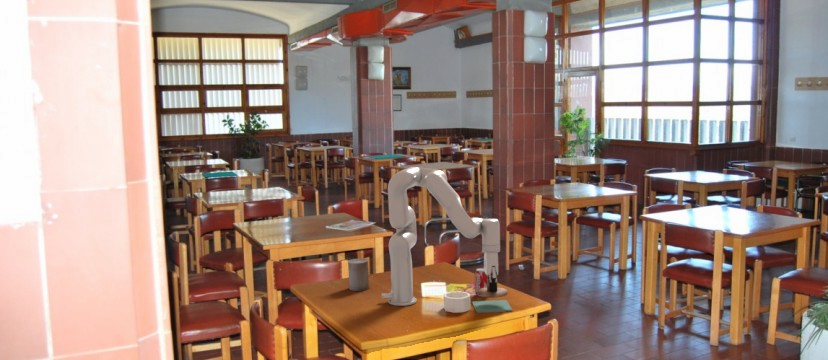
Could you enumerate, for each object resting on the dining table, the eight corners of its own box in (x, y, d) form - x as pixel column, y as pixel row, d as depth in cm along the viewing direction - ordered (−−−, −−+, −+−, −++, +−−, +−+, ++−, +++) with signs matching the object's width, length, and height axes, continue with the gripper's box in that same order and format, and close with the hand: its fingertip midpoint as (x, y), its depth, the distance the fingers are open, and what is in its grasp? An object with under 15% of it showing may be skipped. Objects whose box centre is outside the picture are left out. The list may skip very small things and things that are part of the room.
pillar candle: (371, 286, 336) (370, 255, 334) (366, 291, 326) (365, 260, 325) (352, 285, 338) (350, 255, 336) (346, 291, 328) (345, 260, 327)
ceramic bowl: (445, 312, 290) (445, 299, 289) (443, 305, 301) (442, 292, 300) (471, 311, 290) (471, 298, 290) (468, 304, 301) (468, 290, 301)
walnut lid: (479, 298, 289) (479, 284, 288) (475, 290, 302) (474, 276, 301) (510, 296, 289) (509, 282, 289) (504, 288, 302) (504, 275, 302)
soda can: (489, 297, 311) (489, 271, 310) (474, 297, 312) (473, 271, 311) (491, 293, 318) (490, 267, 316) (476, 292, 319) (475, 267, 318)
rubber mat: (476, 312, 289) (476, 310, 289) (472, 303, 303) (472, 301, 303) (512, 311, 290) (512, 309, 290) (506, 301, 304) (506, 300, 304)
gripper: (479, 244, 302) (480, 285, 304) (485, 252, 285) (486, 295, 287) (496, 243, 302) (497, 284, 304) (503, 251, 285) (504, 294, 287)
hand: (492, 289), depth 295 cm, fingers closed on walnut lid, 4 cm apart
